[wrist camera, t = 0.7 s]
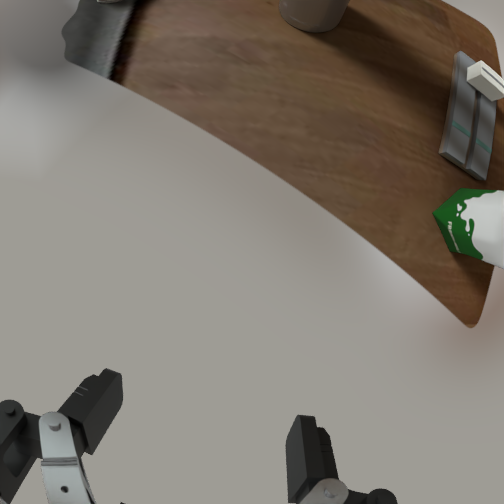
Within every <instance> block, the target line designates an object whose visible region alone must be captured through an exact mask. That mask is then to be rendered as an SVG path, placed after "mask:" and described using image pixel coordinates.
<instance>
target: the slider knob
mask: <svg viewBox="0 0 504 504" xmlns="http://www.w3.org/2000/svg"><path fill="white" fill-rule="evenodd" d="M467 82H469V83H470V84H471V85H472V86H474V87H475V88H476V90H477V91H478V90H479V91H480V92H481V93H482V94H484V95H485V96H486V97H487V98H488V99H490V100H491V101H494V100H497V99H500V98H504V80H503V79H502V78H501V77H500V76H499V75H498V74H497V73H496V72H494V71H493V70H492V69H491V68H490V67H489V66H487V65H486V64H485V63H484V62H483V61H479V62H477V63H475V64H473V65H472V66H470V67H468V69H467Z"/></svg>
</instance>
